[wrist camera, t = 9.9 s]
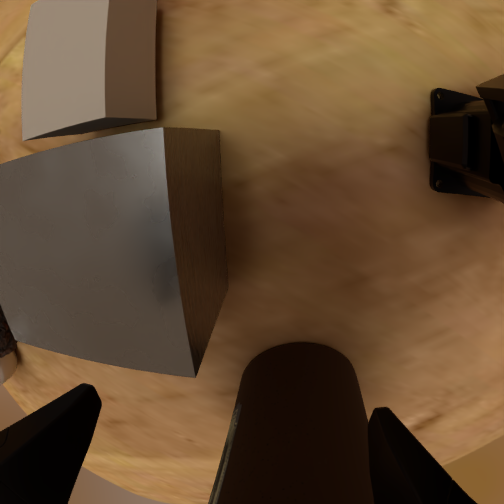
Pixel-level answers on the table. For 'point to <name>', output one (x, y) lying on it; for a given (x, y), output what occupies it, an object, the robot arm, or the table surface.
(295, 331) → the table surface
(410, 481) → the robot arm
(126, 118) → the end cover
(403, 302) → the table surface
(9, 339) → the metal pipe
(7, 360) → the plastic bottle
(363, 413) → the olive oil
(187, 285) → the housing
